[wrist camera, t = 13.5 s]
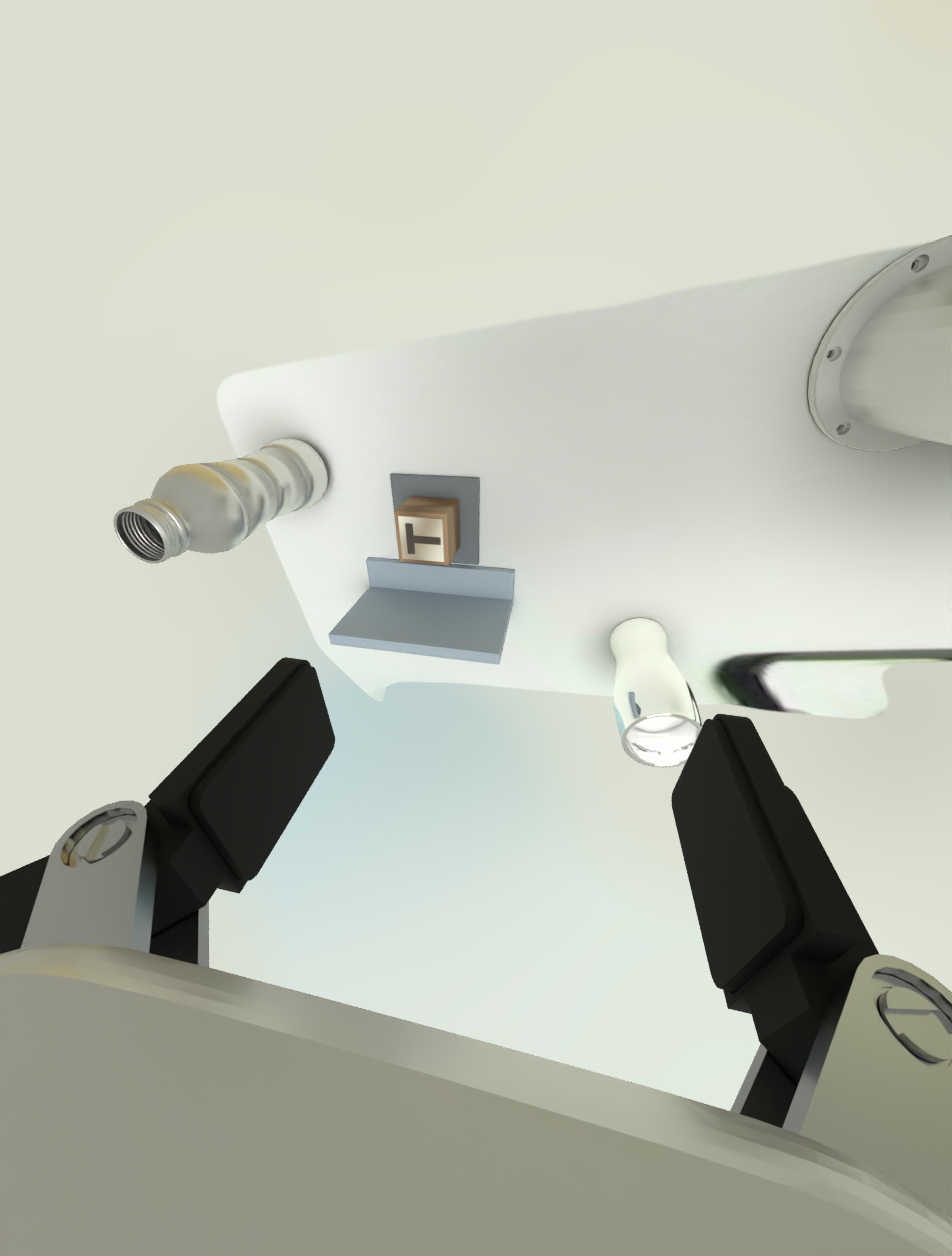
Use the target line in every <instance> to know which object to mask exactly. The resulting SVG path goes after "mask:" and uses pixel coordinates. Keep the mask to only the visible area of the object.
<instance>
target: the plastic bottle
mask: <svg viewBox="0 0 952 1256" xmlns="http://www.w3.org/2000/svg"><path fill="white" fill-rule="evenodd" d="M327 482H328V478H327V471H326V467H325V465H324V462H323V460H322V459H321V457H320V456H319V454H318V453H317V452H316V451H315V450H314V449H313V448H312V447H311V446H310V445H308V444H307V443H305V442H303V441H300V440H296V439H278V440H275V441H273V442H271V443H269V444H267V445H266V446H264V447H263V448H262V449H260V450H259V451H257V452H254V453H252V454H250V455H248V456H245V457H243V458H238V459H235V460H229V461H223V462H216V463H200V464H187V465H181V466H177V467H174V468H172V469H171V470H169V471H168V472H167V473H166V474H164V475H163V476H162V477H161V478H160V479H159V480H158V482H157V484H156V486H155V488H154V490H153V493H152V496H151V499H145V500H142V501H139V502H137V503H135V504H134V505H133V506H130V507H127V508H124V509H122V510H120V511H119V512H117V514H116V515H115V518H114V527H115V531H116V533H117V536H118V537H119V539H120V541H121V542H122V544H123V545H124V546H125V547H126V548H127V549H128V551H130V552H131V553H132V554H133V555H134V556H136V557H137V558H139V559H141V560H143V561H145V562H148V563H159V562H162V561H165V560H167V559H169V558H170V557H175V556H178V555H180V554H182V553H183V552H185V551H186V550H191V551H195V552H202V553H218V552H224V551H228V550H230V549H232V548H233V547H235V546H236V545H238V544H239V543H241V541H243V540H244V539H245V538H247V537H248V536H249V535H250V534H251V533H253V532H254V531H255V530H256V529H257V528H259V527H260V526H261V525H263V524H265V523H266V522H268V521H269V520H271V519H273V518H274V517H277V516H279V515H282V514H285V513H288V512H290V511H297V510H301V509H304V508H308V507H311V506H312V505H314V504H315V503H316V502H317V501H318V500H319V499H320V498H321V497H322V496H323V494H324V493H325V491H326V488H327Z"/></svg>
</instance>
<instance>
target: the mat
mask: <svg viewBox="0 0 952 1256" xmlns="http://www.w3.org/2000/svg"><path fill="white" fill-rule="evenodd" d="M390 478H391V487H392V496H393V505H394V511H395V510H396V509H397V508H398V507H399V506H401V505H402V504H403V503H404V502H405V501H406V500H407V499H409V498H410V497H411V496H419V497H436V498H452V499H459V514H460V547H459V549H458V550H457V552H456V554H455V556H454V557H453V559H452V561H451V563H463V564H475V565H478V563H479V478H475V477H454V476H434V475H413V474H393V473H392V474H391V475H390Z"/></svg>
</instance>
